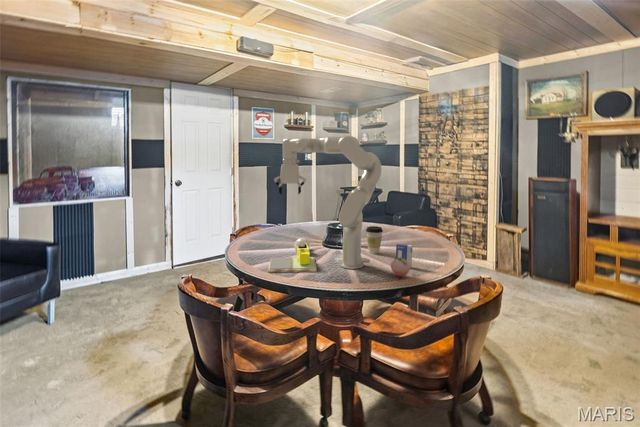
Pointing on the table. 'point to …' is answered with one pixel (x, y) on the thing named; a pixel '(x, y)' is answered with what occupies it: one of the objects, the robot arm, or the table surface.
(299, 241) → the white ovoid
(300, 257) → the yellow toy chassis
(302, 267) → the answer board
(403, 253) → the blue and white carton
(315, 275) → the table surface
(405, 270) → the decorative fruit
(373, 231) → the coffee cup
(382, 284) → the table surface
